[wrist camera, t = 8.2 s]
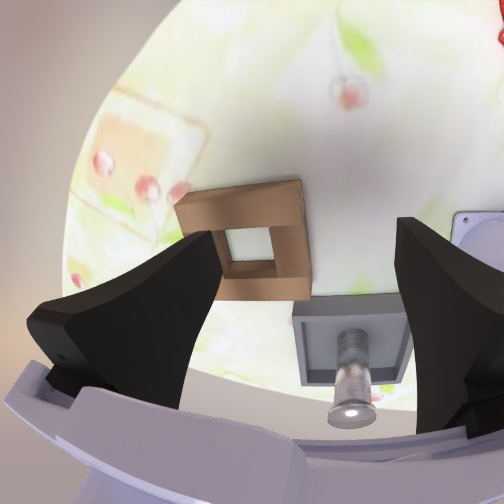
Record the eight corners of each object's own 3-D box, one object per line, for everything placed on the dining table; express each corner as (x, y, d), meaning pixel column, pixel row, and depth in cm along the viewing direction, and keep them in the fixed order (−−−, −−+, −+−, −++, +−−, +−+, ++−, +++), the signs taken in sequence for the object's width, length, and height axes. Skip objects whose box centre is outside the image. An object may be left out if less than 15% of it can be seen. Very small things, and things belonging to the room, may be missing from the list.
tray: (417, 291, 23) (423, 310, 21) (398, 365, 28) (400, 383, 26) (295, 296, 26) (291, 316, 24) (303, 368, 32) (301, 386, 30)
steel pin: (370, 322, 25) (375, 407, 18) (373, 348, 27) (376, 426, 19) (329, 328, 26) (324, 412, 19) (336, 353, 28) (331, 430, 21)
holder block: (300, 179, 20) (297, 192, 18) (312, 280, 24) (310, 300, 22) (187, 193, 22) (173, 205, 20) (215, 282, 27) (206, 300, 25)
